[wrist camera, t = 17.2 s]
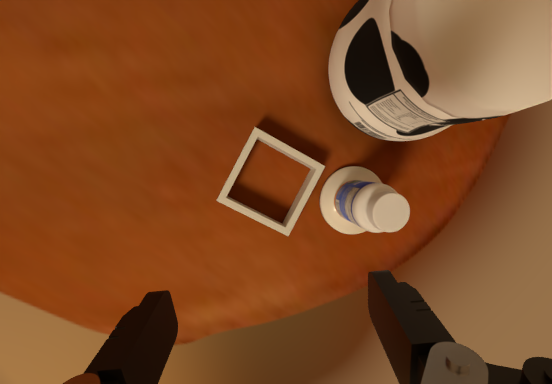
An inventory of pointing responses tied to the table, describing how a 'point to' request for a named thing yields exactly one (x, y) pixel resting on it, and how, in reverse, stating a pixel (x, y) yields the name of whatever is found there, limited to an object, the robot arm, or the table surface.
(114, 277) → the table surface
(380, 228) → the pill bottle
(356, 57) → the milk container
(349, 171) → the coaster
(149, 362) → the robot arm
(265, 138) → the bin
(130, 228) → the table surface
